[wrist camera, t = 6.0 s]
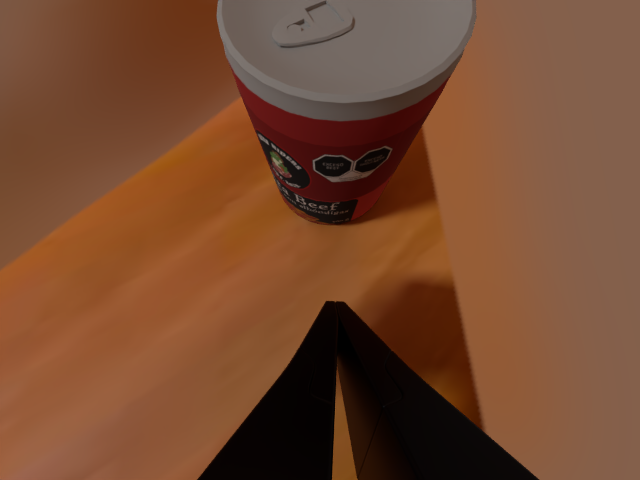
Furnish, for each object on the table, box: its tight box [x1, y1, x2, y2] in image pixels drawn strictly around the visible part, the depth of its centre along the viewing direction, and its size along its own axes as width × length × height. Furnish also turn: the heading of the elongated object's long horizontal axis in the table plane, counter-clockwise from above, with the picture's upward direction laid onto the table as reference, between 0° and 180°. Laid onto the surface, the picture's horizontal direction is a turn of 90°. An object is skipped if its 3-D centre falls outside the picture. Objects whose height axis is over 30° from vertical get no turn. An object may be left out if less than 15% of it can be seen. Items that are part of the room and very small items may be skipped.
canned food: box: [217, 0, 476, 225], centre depth 12 cm, size 8×8×11 cm
